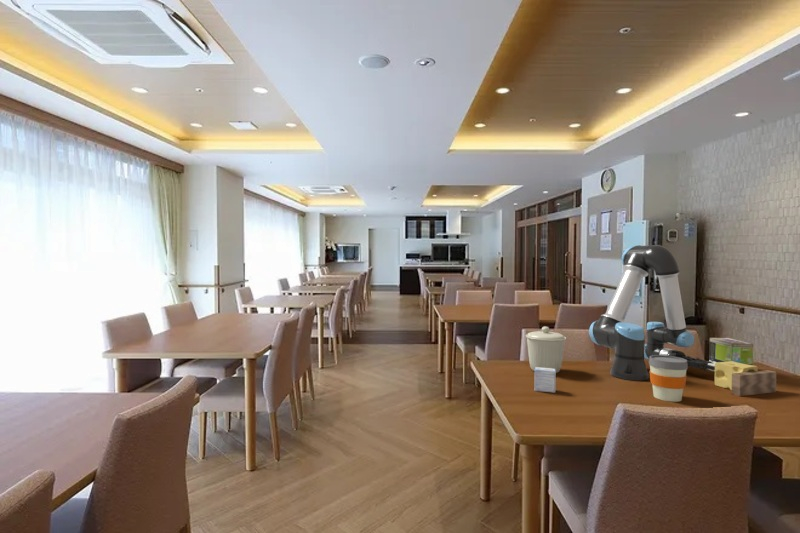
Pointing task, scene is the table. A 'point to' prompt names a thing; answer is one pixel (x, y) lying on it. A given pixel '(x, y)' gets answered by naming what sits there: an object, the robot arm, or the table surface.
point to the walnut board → (753, 383)
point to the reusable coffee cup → (668, 377)
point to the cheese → (730, 372)
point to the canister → (545, 349)
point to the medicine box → (545, 379)
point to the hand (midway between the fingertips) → (724, 370)
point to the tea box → (730, 351)
